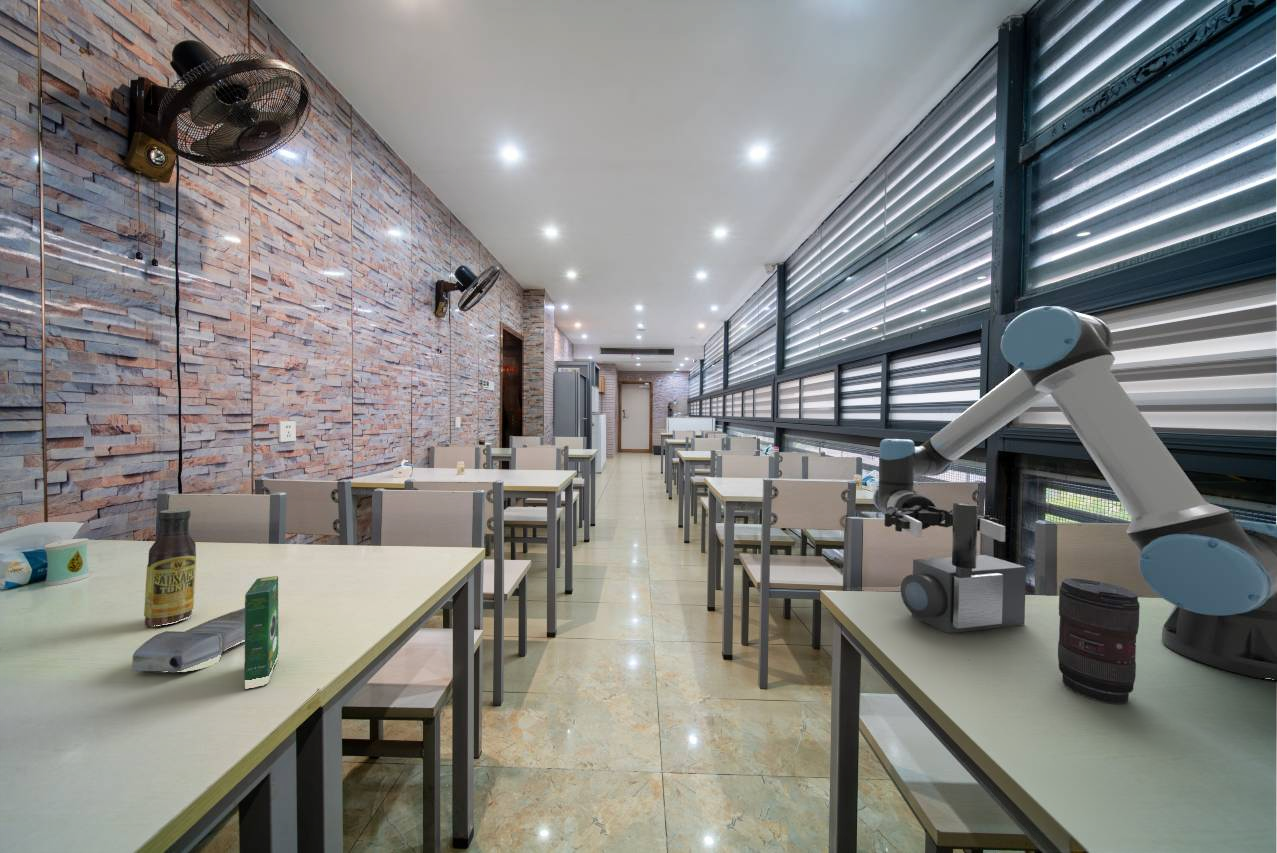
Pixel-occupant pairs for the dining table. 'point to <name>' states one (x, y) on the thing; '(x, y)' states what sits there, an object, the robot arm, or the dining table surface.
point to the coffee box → (261, 628)
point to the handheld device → (190, 644)
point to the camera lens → (1098, 639)
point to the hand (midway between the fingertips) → (960, 531)
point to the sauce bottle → (171, 570)
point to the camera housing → (934, 591)
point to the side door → (972, 593)
